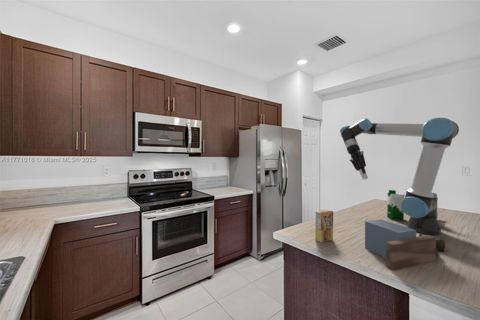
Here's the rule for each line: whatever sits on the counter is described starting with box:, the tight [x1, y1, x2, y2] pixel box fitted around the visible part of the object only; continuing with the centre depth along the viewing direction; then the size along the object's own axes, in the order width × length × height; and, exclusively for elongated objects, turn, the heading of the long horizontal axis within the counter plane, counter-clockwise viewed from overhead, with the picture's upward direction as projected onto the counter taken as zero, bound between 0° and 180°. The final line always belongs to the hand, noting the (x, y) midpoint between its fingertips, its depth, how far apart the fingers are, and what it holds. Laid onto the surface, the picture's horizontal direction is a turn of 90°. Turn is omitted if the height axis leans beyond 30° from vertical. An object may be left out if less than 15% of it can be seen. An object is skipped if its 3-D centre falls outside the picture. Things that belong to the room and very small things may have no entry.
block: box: [364, 219, 417, 259], centre depth 95 cm, size 16×10×13 cm, turn 17°
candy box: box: [314, 209, 334, 243], centre depth 110 cm, size 9×4×15 cm, turn 116°
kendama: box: [417, 233, 446, 258], centre depth 98 cm, size 6×10×20 cm
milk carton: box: [386, 189, 406, 221], centre depth 147 cm, size 9×9×20 cm
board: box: [385, 234, 437, 271], centre depth 86 cm, size 3×24×10 cm, turn 107°
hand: (365, 178), depth 132 cm, fingers closed
